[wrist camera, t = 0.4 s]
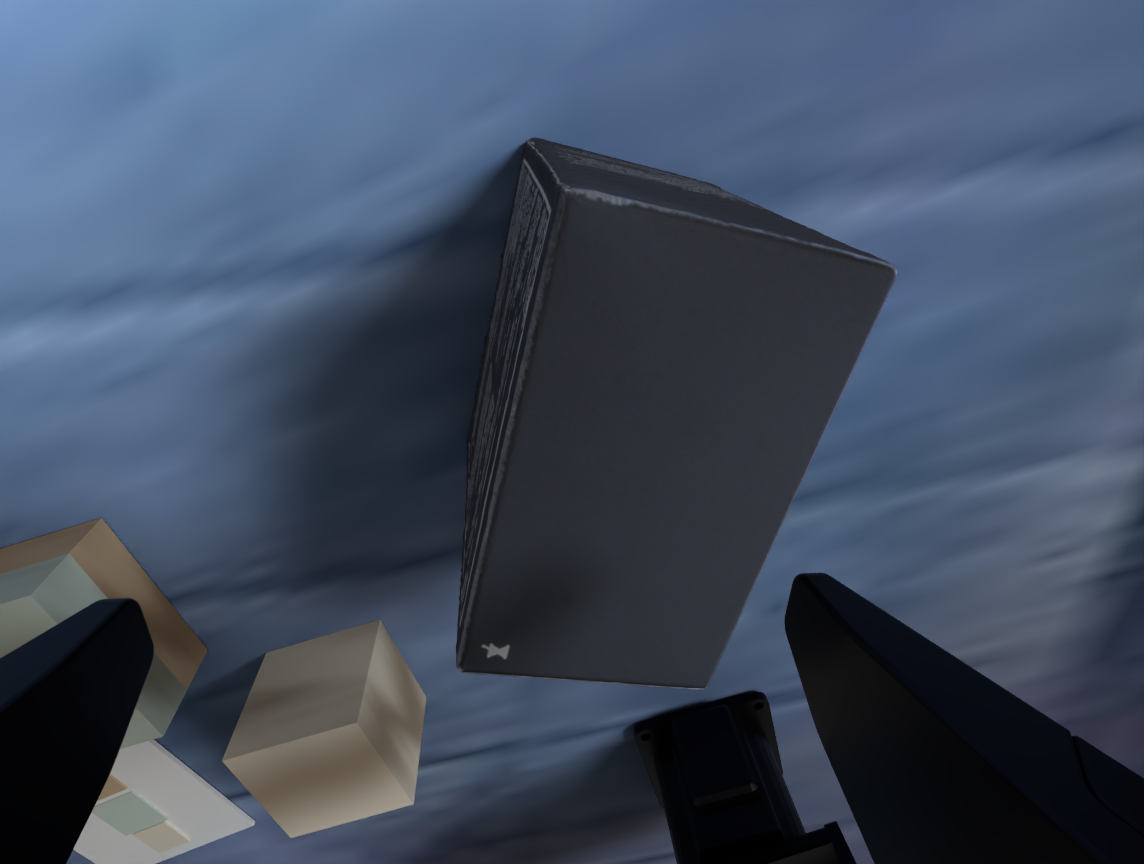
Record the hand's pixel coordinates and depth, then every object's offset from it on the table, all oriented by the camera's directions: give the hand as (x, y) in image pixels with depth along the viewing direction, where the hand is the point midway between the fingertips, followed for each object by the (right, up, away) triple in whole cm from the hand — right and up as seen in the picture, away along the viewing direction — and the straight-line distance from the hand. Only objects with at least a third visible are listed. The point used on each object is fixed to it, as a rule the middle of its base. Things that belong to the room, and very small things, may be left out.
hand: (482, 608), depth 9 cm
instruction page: (-20, -14, +21) cm, 32 cm away
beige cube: (-8, -8, +19) cm, 22 cm away
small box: (+2, +6, +13) cm, 14 cm away
